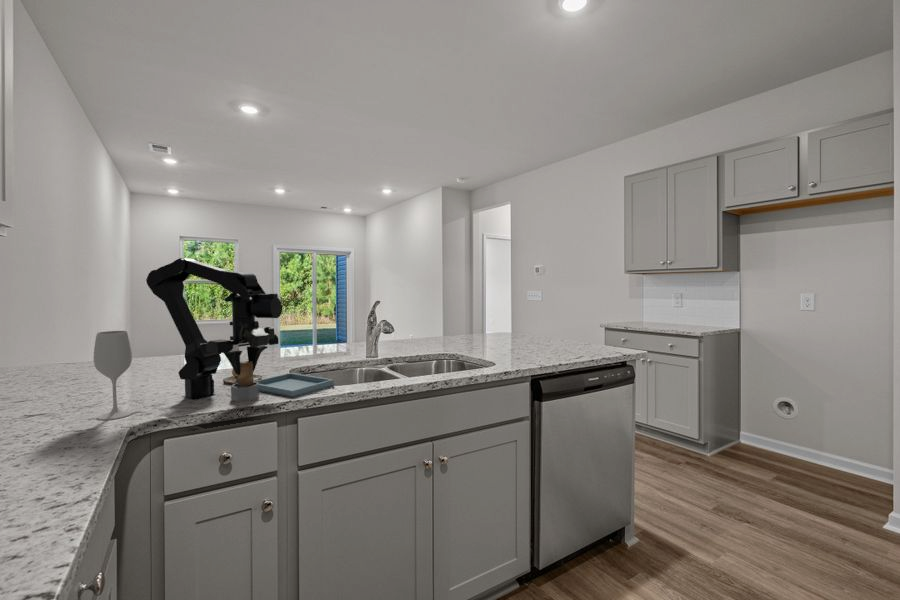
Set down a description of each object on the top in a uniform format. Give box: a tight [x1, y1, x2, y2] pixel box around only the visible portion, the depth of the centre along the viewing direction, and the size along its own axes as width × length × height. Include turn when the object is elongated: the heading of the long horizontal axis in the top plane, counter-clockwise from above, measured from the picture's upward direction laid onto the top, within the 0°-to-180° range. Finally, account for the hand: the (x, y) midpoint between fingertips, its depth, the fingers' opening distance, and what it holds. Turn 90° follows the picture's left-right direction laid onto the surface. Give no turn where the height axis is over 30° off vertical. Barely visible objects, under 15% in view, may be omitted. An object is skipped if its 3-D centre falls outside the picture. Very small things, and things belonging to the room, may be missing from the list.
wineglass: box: [93, 330, 134, 421], centre depth 110 cm, size 8×8×21 cm
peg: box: [237, 360, 254, 387], centre depth 124 cm, size 4×4×8 cm
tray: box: [253, 372, 335, 399], centre depth 137 cm, size 16×20×2 cm
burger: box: [222, 368, 263, 386], centre depth 145 cm, size 12×12×8 cm
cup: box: [230, 382, 260, 403], centre depth 124 cm, size 7×7×4 cm
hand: (245, 373), depth 124 cm, fingers closed on peg, 4 cm apart
